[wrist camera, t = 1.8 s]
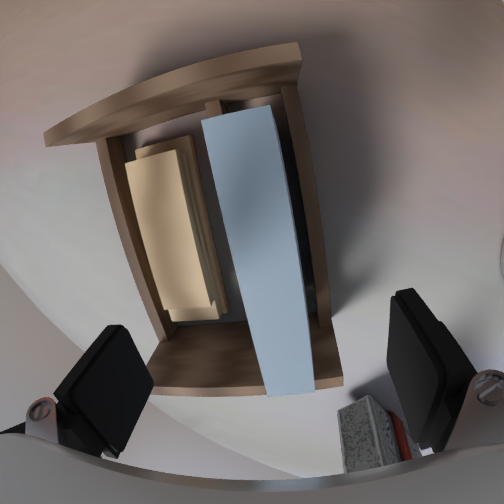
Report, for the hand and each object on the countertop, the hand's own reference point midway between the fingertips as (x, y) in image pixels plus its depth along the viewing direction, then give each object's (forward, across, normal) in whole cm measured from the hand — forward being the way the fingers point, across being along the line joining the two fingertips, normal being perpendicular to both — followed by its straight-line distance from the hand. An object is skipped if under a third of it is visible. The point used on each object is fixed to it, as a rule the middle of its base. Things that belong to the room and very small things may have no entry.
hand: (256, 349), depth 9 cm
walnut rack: (+19, +5, 0) cm, 19 cm away
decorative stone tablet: (+19, -13, +38) cm, 45 cm away
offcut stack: (+19, +9, 0) cm, 21 cm away
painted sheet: (+19, 0, 0) cm, 19 cm away
